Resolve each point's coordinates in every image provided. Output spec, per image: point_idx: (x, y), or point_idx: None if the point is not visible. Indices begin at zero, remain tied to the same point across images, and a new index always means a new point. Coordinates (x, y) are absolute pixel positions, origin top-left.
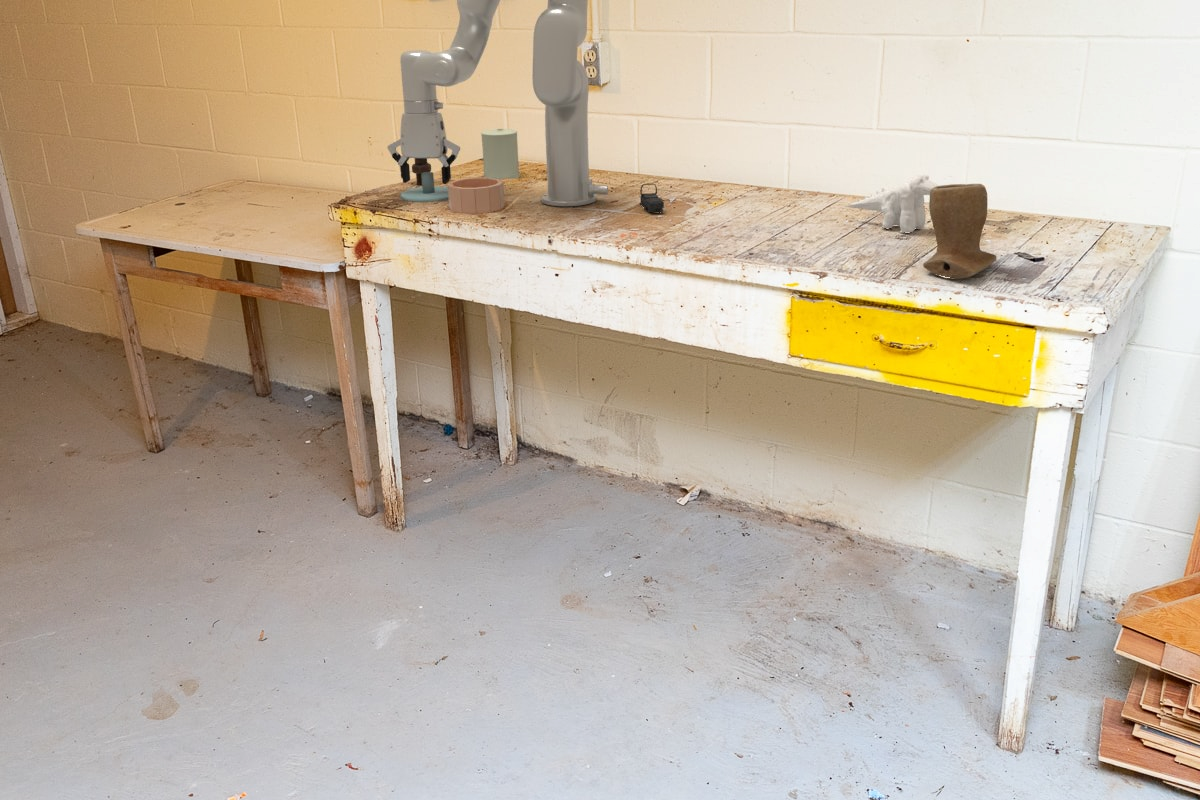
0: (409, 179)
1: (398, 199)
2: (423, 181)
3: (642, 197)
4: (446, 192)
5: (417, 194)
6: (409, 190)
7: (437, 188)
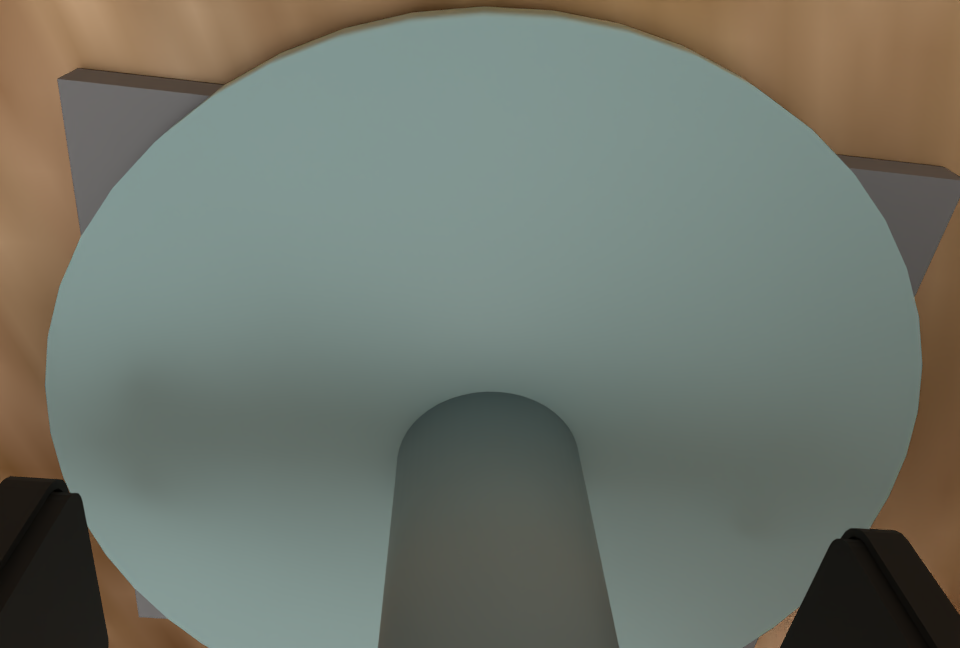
0: (76, 533)
1: (141, 602)
2: None
3: None
4: (760, 485)
5: (357, 575)
6: (116, 346)
7: (585, 208)
